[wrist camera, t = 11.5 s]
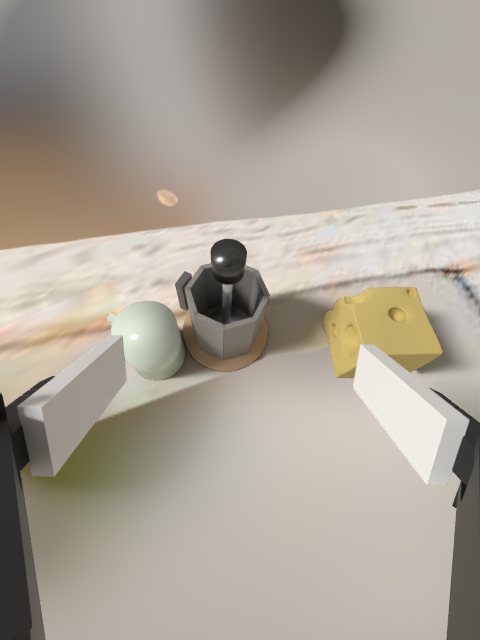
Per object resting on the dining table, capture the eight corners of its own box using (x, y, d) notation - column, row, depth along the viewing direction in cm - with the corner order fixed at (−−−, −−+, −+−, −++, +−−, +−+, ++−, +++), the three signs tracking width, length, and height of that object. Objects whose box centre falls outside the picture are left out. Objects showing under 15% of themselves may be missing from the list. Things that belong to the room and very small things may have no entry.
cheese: (320, 319, 46) (344, 284, 37) (383, 319, 47) (421, 283, 38) (333, 382, 41) (364, 358, 32) (403, 380, 42) (452, 356, 33)
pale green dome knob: (140, 318, 44) (122, 285, 36) (194, 345, 42) (188, 316, 34) (108, 359, 40) (81, 332, 32) (166, 389, 39) (153, 369, 31)
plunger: (217, 300, 44) (215, 221, 30) (254, 317, 43) (270, 242, 29) (196, 333, 41) (184, 262, 27) (236, 352, 40) (244, 288, 26)
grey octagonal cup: (207, 284, 48) (203, 236, 38) (279, 316, 45) (295, 274, 36) (165, 347, 42) (148, 309, 32) (245, 386, 40) (254, 359, 30)
